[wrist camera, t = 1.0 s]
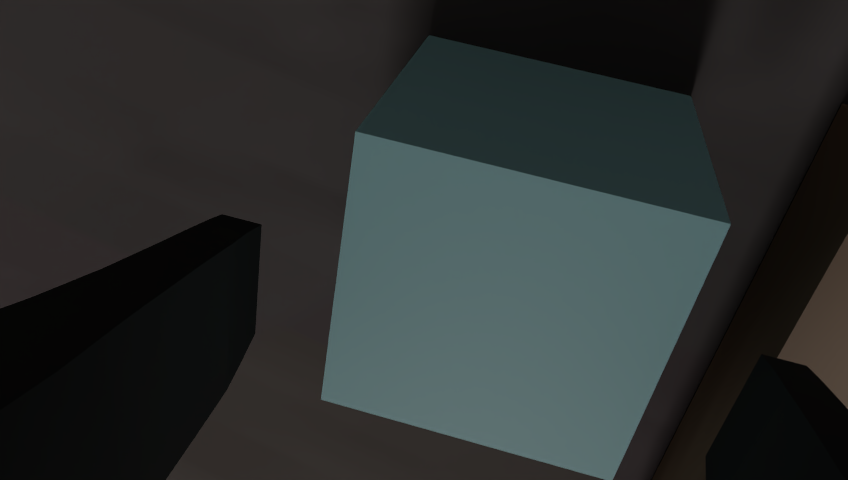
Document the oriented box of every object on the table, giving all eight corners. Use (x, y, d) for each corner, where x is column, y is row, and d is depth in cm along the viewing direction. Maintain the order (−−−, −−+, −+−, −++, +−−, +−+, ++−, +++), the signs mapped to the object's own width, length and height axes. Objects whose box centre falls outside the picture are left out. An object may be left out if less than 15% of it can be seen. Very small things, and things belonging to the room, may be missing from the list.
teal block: (690, 94, 14) (730, 224, 9) (608, 305, 16) (611, 481, 12) (429, 33, 14) (355, 131, 10) (392, 249, 17) (321, 399, 12)
